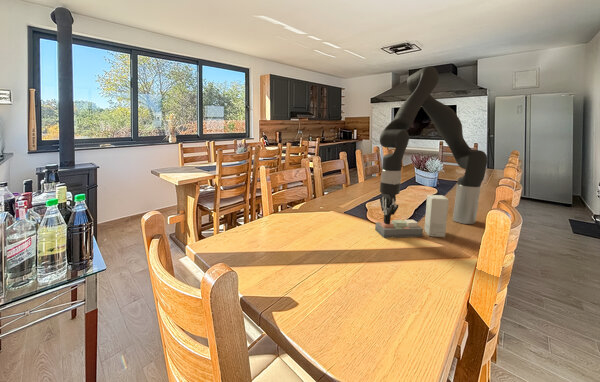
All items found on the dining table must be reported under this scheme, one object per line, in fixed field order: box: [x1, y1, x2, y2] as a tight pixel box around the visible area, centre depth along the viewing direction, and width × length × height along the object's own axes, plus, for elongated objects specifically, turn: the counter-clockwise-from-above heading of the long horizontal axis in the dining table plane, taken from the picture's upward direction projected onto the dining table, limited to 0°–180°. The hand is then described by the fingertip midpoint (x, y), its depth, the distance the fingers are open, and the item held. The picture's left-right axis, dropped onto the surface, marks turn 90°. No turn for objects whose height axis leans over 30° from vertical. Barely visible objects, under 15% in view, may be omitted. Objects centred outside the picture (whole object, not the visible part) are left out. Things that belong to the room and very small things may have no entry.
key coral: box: [380, 221, 394, 228], centre depth 116 cm, size 4×4×2 cm
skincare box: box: [423, 194, 450, 238], centre depth 116 cm, size 8×7×16 cm
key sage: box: [391, 219, 406, 228], centre depth 117 cm, size 4×4×2 cm
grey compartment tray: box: [374, 221, 424, 239], centre depth 117 cm, size 16×9×3 cm, turn 97°
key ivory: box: [403, 219, 419, 227], centre depth 117 cm, size 4×4×2 cm
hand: (386, 223), depth 116 cm, fingers closed
